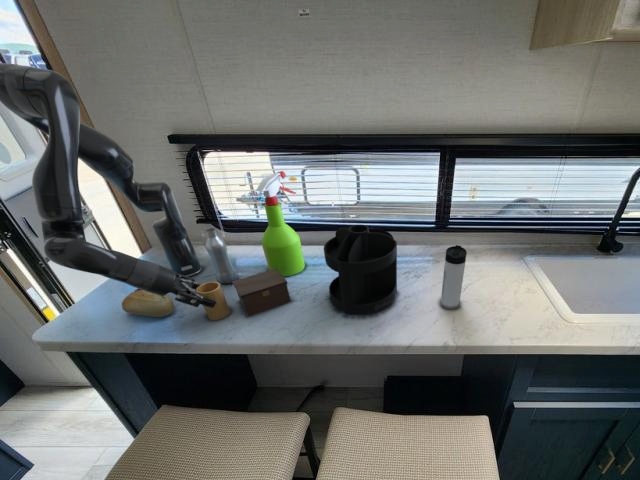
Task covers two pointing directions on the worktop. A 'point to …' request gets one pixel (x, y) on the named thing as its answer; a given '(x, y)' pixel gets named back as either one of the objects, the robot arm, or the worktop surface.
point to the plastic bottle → (219, 256)
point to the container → (362, 269)
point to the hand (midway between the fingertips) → (211, 297)
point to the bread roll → (147, 304)
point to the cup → (214, 293)
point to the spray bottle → (279, 231)
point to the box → (262, 291)
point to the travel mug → (453, 276)
